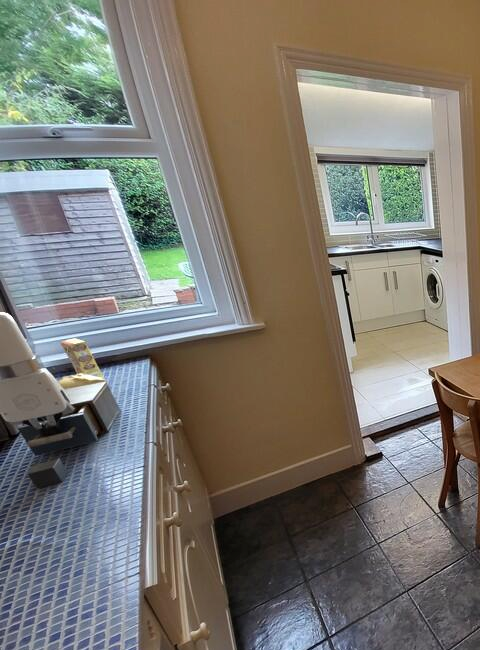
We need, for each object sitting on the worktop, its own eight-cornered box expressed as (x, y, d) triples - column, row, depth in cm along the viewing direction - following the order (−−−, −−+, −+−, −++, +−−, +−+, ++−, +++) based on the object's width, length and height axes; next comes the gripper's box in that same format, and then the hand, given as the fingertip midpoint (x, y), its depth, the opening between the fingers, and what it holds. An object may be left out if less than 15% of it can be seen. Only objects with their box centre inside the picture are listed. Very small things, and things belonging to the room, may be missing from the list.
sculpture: (123, 400, 128) (107, 368, 124) (80, 419, 118) (62, 385, 113) (94, 398, 130) (77, 367, 126) (49, 417, 120) (29, 383, 115)
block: (37, 489, 88) (27, 473, 87) (44, 479, 91) (34, 464, 90) (62, 482, 90) (53, 467, 88) (68, 473, 93) (59, 458, 92)
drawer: (91, 450, 100) (76, 422, 97) (26, 466, 95) (8, 437, 92) (110, 419, 115) (97, 394, 111) (54, 432, 109) (39, 406, 106)
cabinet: (108, 431, 110) (91, 400, 106) (44, 446, 104) (23, 414, 100) (120, 410, 122) (106, 381, 118) (63, 423, 116) (45, 393, 112)
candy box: (107, 382, 142) (86, 340, 136) (91, 387, 139) (69, 344, 133) (96, 378, 146) (75, 337, 140) (81, 383, 143) (58, 341, 137)
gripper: (-44, 383, 84) (6, 457, 92) (55, 366, 91) (94, 436, 99) (-26, 372, 90) (19, 442, 98) (66, 356, 97) (101, 423, 105)
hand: (57, 439), depth 98 cm, fingers closed
